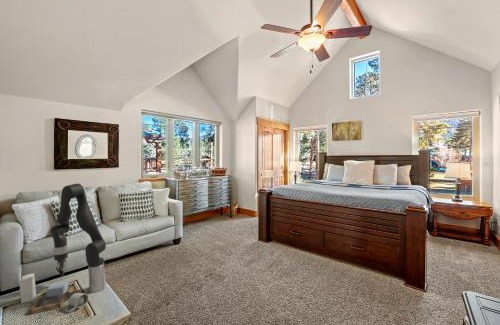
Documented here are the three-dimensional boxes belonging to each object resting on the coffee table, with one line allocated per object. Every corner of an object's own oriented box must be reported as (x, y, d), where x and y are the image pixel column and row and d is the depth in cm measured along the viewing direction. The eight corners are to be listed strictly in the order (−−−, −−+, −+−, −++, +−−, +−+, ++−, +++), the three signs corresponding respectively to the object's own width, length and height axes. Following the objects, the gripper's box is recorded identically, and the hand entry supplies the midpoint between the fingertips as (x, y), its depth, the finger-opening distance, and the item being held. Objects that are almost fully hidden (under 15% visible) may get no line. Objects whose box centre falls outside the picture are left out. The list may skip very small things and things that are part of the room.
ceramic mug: (79, 300, 148) (78, 289, 147) (89, 302, 145) (88, 291, 145) (61, 312, 137) (60, 299, 137) (71, 314, 135) (70, 302, 134)
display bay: (67, 295, 153) (67, 291, 153) (60, 307, 141) (60, 303, 141) (39, 301, 147) (38, 297, 147) (29, 314, 135) (28, 310, 135)
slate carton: (68, 288, 162) (67, 281, 162) (63, 294, 154) (62, 287, 154) (52, 290, 159) (52, 283, 159) (46, 297, 152) (46, 290, 151)
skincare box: (33, 300, 148) (31, 278, 147) (20, 304, 145) (18, 281, 144) (36, 294, 155) (34, 272, 154) (23, 297, 152) (22, 275, 151)
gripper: (64, 255, 160) (65, 279, 161) (70, 247, 172) (71, 270, 173) (50, 257, 157) (51, 281, 158) (57, 249, 169) (58, 272, 170)
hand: (61, 275), depth 165 cm, fingers closed
